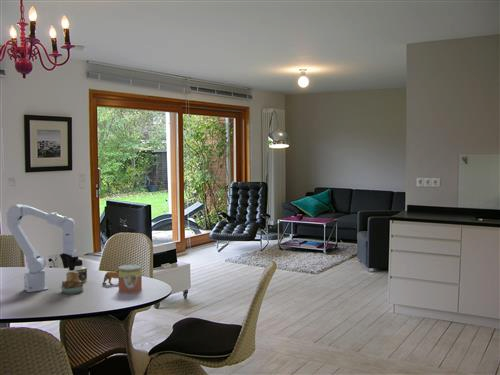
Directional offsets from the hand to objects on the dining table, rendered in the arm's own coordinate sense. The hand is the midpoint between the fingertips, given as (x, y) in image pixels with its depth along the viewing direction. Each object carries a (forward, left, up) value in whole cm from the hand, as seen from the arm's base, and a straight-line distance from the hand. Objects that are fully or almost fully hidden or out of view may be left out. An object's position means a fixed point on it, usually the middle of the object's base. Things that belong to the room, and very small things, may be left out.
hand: (68, 269), depth 259 cm
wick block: (-1, -7, -7) cm, 10 cm away
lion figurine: (+23, -5, -10) cm, 26 cm away
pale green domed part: (-1, -7, -10) cm, 12 cm away
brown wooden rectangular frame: (-1, -7, -7) cm, 10 cm away
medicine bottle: (+9, +12, -10) cm, 18 cm away
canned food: (+22, -23, -10) cm, 33 cm away
